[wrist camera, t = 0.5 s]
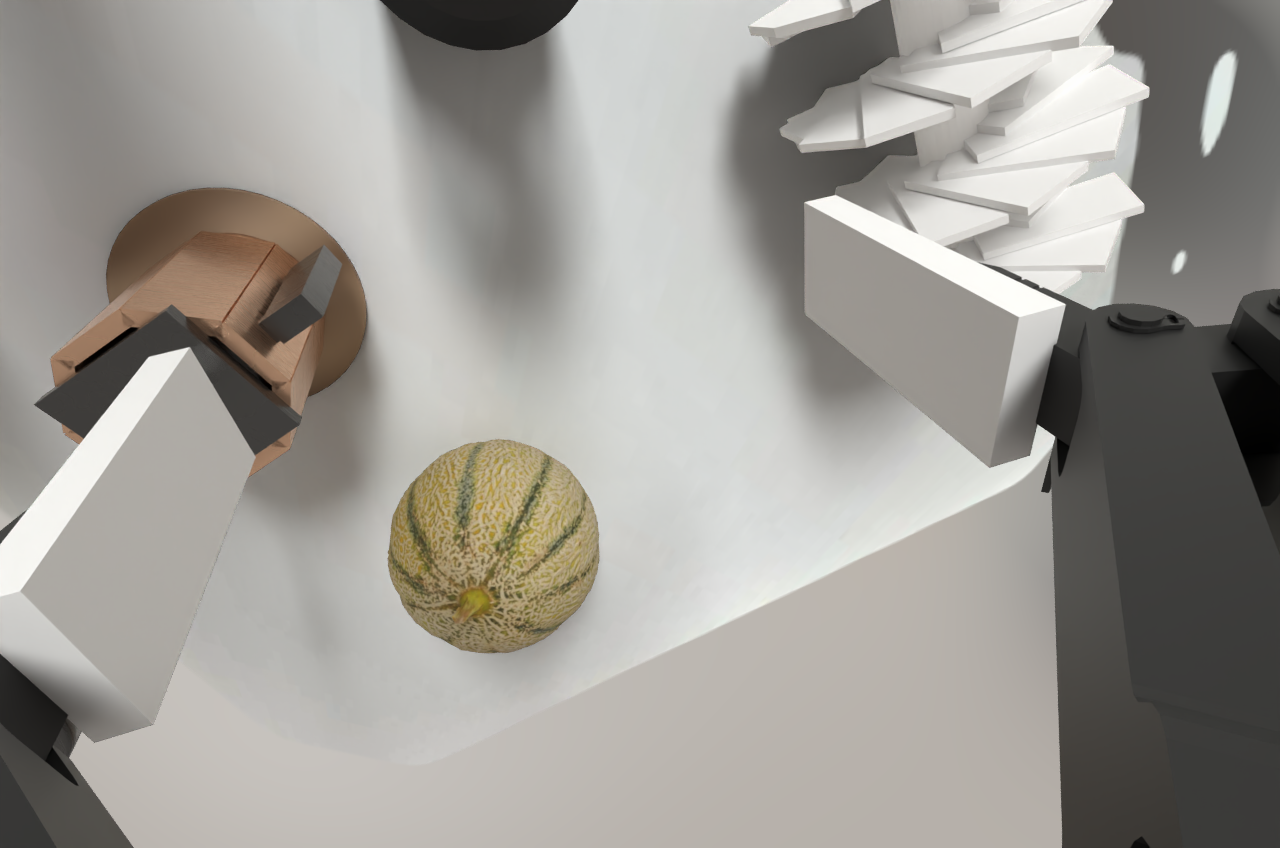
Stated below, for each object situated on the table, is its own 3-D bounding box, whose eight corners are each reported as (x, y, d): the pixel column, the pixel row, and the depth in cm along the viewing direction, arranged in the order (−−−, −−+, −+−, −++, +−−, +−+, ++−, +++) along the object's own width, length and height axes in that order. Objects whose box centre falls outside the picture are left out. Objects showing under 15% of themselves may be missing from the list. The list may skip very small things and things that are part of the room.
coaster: (50, 277, 38) (44, 281, 38) (242, 137, 37) (239, 139, 37) (249, 437, 46) (247, 441, 46) (412, 325, 45) (412, 328, 44)
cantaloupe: (574, 547, 59) (610, 689, 47) (398, 560, 55) (388, 720, 43) (588, 401, 52) (636, 524, 39) (387, 404, 47) (371, 542, 35)
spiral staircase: (834, 271, 56) (734, -59, 41) (1074, 198, 49) (1064, -230, 34) (857, 425, 43) (725, 31, 28) (1185, 355, 37) (1246, -215, 21)
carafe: (117, 290, 39) (-9, 401, 28) (279, 173, 38) (216, 239, 27) (246, 398, 44) (183, 527, 33) (392, 297, 43) (377, 396, 32)
